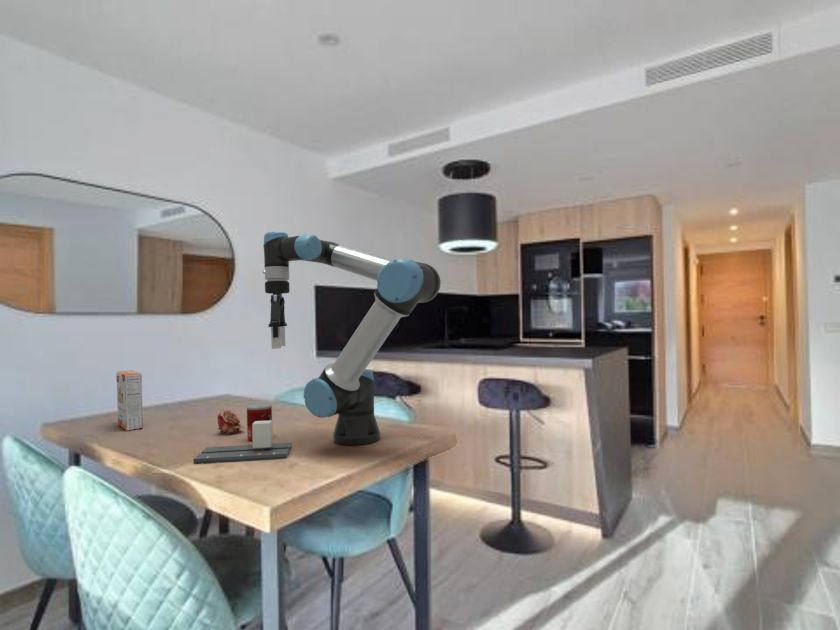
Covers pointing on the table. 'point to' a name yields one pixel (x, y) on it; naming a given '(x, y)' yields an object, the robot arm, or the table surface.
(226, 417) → the flower
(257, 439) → the fader
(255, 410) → the canned food
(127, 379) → the cracker box
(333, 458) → the table surface
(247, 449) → the fader panel
